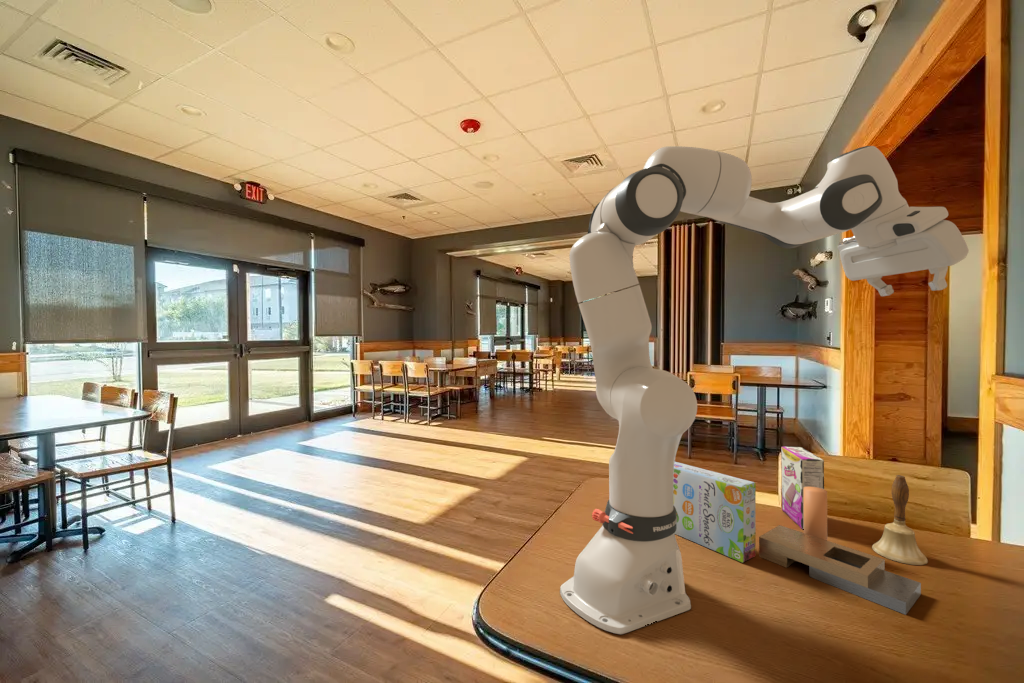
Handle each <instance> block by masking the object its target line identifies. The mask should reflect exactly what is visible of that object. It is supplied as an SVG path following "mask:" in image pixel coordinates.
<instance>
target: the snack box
mask: <svg viewBox="0 0 1024 683" xmlns="http://www.w3.org/2000/svg"><path fill="white" fill-rule="evenodd" d="M756 487H757V486H756V482H754V481H750V480H747V479H742V478H739V477H735V476H731V475H728V474H725V473H720V472H717V471H713V470H708V469H704V468H701V467H697V466H694V465H689V464H686V463H682V462H678V461H675V463H674V478H673V505H674V507H675V508H676V516H677V523H676V527H677V529H676V531H675V536H676V535H677V536H679V537H681V538H683V539H685V540H688V541H691V542H693V543H695V544H697V545H700V546H702V547H704V548H707V549H709V550H712V551H714V552H717V553H719V554H721V555H724V556H726V557H728V558H730V559H733V560H735V561H737V562H740V563H745V562H746V561H748V560H750V559H752V558H755V557H756V553H757V552H756V550H757V548H756V547H757V546H756V543H757V542H756V540H757V539H756V536H757V535H756V530H757V528H756V527H757V526H756V505H757V504H756V502H757V501H756V499H757V498H756V496H757V495H756V491H757V489H756Z"/></svg>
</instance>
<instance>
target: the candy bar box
mask: <svg viewBox="0 0 1024 683" xmlns="http://www.w3.org/2000/svg"><path fill="white" fill-rule="evenodd" d="M780 451H781V453H780V455H781V456H780V457H781V461H780V462H781V464H780V465H781V510H782V511H783V512H784V513H785V514H786V515H787V516H788V517H789V518H790V519H791V520H792V521H793V522H794V523H795V524H796V525H798V527H799V528H800V529H801V530H803V529H804V487H818V488H821V489H824V490H825V460H824V459H822V458H821V457H819V456H817V455H815V454H814V453H812V452H810V451H809V450H807V449H805V448H803V447H801V446H781V448H780Z"/></svg>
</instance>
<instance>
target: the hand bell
mask: <svg viewBox="0 0 1024 683" xmlns="http://www.w3.org/2000/svg"><path fill="white" fill-rule="evenodd" d="M891 497H892V501H893V503H894V514H893V518H894V519H893V522H890V523H886V524H884V528H883V533H882V536H881V538H880V539H879V540H878V541H876V542H874V543H873V544H872V546H871V549H872V550H873V551H874V552H875V553H876V554H878V555H879V556H882V557H884V558H886V559H887V560H891V561H894V562H896V563H897V562H898V563H902V564H905V565H912V566H923V565H927V564H928V563H929V560H928V558H927V556H926V555H925V554H924V553H923V552H922V551H921V549H920V548H919V545H918V544H917V540H916V536H915V531H914V530H913V529H912V528H911V527H909V526H907V525H906V507H907V504H908V502H909V498H910V489H909V486H908V482H907V480H906V477H905V476H904V475H900V474H896V475H895V478H894V481H893V483H892V485H891Z"/></svg>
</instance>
